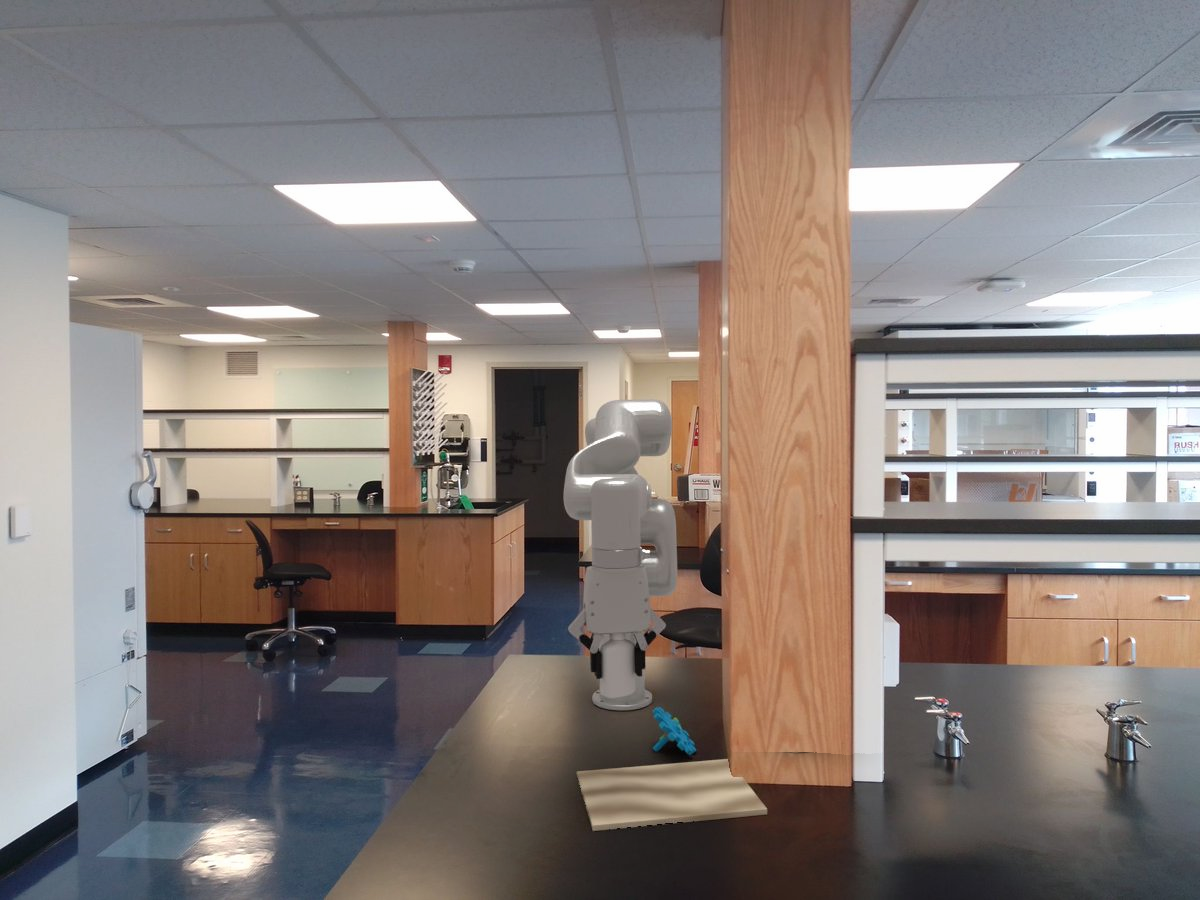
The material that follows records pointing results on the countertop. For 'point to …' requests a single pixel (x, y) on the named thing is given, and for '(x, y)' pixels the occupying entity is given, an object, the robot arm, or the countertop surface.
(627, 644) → the eye dropper bottle
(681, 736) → the gear
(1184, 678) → the countertop surface
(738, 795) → the beige flat sheet
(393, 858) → the countertop surface
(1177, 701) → the countertop surface
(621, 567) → the robot arm
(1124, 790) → the countertop surface
